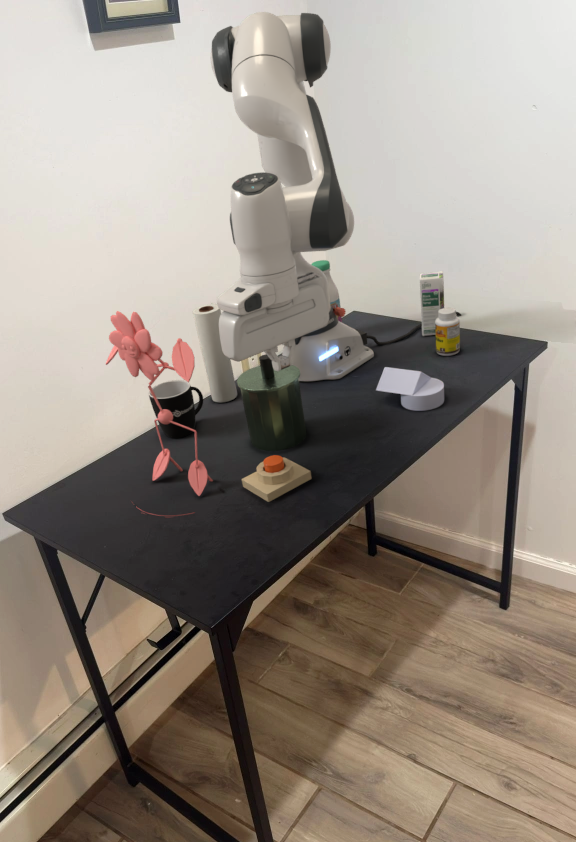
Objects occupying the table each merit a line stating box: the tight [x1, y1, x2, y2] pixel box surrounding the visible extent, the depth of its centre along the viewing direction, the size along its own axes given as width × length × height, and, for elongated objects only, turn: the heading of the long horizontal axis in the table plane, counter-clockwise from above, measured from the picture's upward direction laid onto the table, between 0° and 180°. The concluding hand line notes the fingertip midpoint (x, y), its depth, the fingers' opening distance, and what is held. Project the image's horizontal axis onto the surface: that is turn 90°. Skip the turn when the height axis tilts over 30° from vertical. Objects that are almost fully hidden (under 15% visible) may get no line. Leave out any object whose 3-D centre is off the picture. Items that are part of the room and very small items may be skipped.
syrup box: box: [419, 270, 445, 337], centre depth 179 cm, size 6×6×14 cm
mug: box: [148, 379, 204, 439], centre depth 155 cm, size 12×9×10 cm
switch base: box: [241, 457, 313, 503], centre depth 132 cm, size 10×8×4 cm
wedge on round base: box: [375, 366, 445, 412], centre depth 152 cm, size 9×7×13 cm
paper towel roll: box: [192, 301, 238, 403], centre depth 163 cm, size 7×6×21 cm
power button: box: [262, 454, 284, 473], centre depth 130 cm, size 4×4×2 cm
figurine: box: [105, 310, 214, 519], centre depth 126 cm, size 15×26×35 cm, turn 48°
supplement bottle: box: [435, 307, 461, 357], centre depth 169 cm, size 6×6×10 cm
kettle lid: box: [236, 354, 300, 392], centre depth 139 cm, size 12×12×5 cm
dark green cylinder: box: [239, 379, 307, 452], centre depth 144 cm, size 11×12×14 cm
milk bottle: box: [311, 259, 343, 323], centre depth 184 cm, size 8×8×20 cm
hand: (282, 367), depth 122 cm, fingers closed
